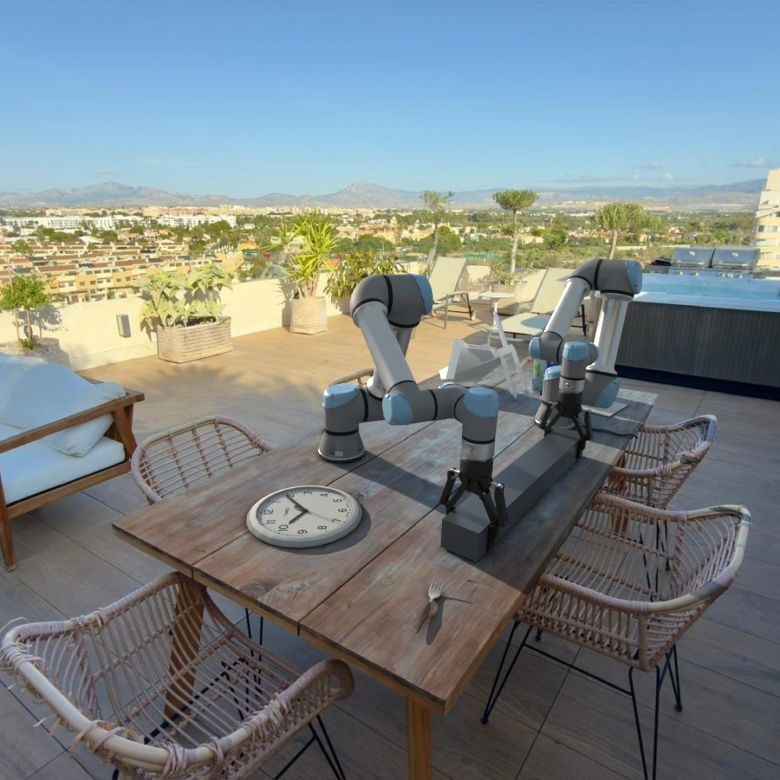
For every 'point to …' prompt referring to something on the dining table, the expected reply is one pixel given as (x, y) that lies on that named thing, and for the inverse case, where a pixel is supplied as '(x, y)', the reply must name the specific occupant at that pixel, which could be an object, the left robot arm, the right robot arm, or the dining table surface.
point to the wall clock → (304, 516)
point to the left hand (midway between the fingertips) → (470, 540)
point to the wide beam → (511, 493)
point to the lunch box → (541, 373)
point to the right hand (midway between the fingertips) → (562, 453)
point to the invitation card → (606, 412)
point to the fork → (433, 594)
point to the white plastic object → (482, 362)
